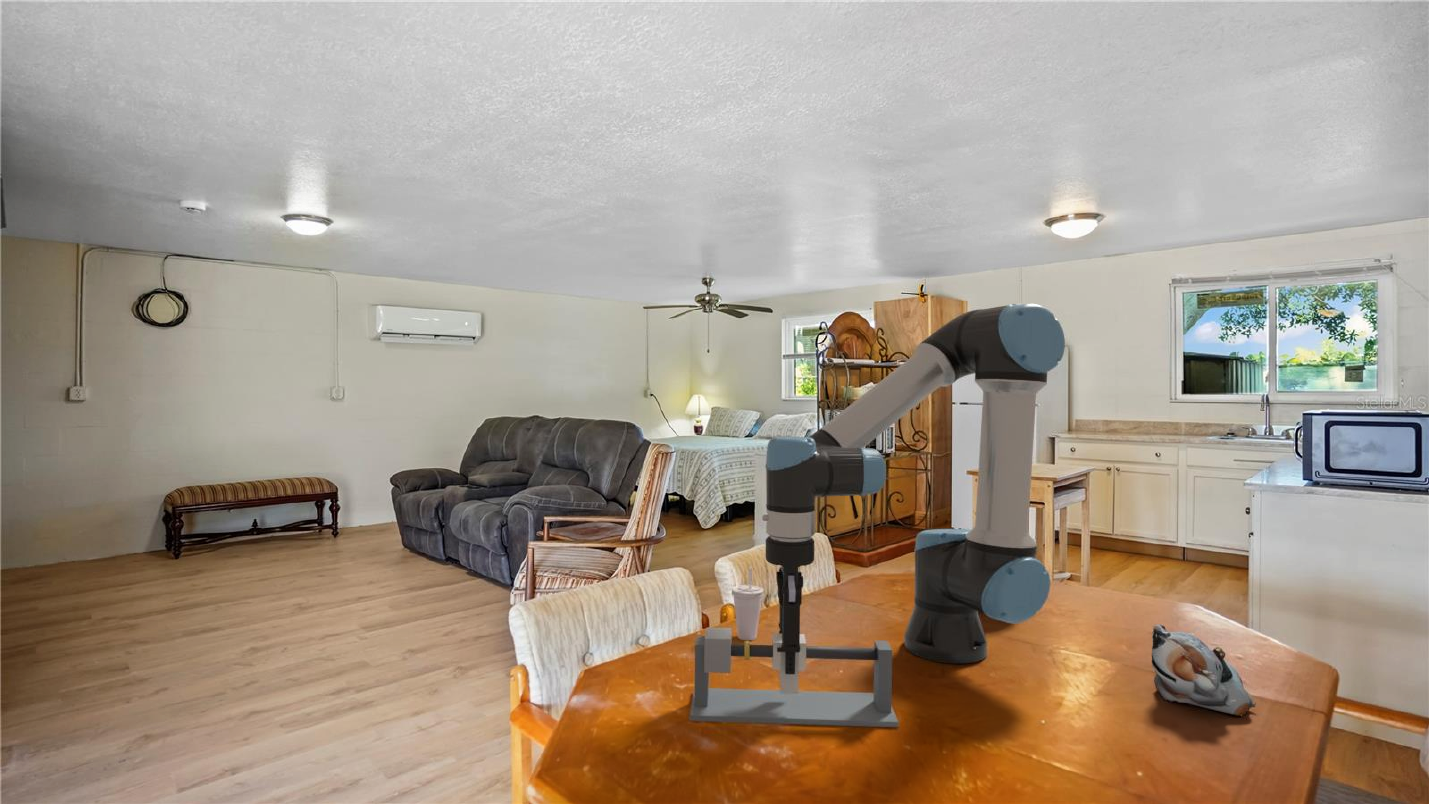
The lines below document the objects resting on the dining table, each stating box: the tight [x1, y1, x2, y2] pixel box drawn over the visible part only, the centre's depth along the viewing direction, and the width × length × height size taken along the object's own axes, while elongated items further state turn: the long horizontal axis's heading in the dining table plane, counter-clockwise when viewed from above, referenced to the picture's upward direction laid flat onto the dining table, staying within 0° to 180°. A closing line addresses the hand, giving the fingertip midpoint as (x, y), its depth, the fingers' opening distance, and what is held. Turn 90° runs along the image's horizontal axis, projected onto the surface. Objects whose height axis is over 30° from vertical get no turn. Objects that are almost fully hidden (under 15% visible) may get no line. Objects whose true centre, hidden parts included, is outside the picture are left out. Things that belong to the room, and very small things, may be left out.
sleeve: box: [771, 632, 807, 672], centre depth 113 cm, size 5×4×4 cm
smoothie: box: [731, 566, 764, 641], centre depth 146 cm, size 6×6×14 cm
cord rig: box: [689, 626, 900, 728], centre depth 113 cm, size 31×10×12 cm, turn 87°
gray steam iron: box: [1151, 624, 1256, 717], centre depth 117 cm, size 15×12×14 cm
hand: (788, 685), depth 113 cm, fingers closed on sleeve, 4 cm apart
